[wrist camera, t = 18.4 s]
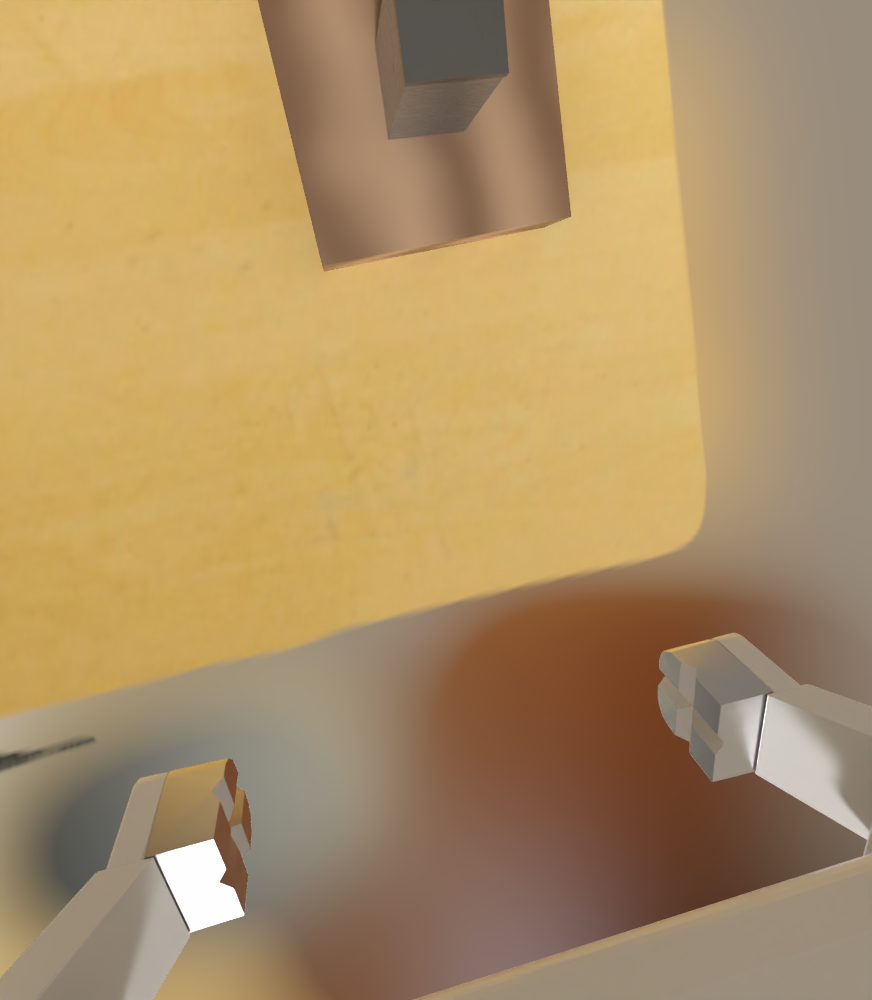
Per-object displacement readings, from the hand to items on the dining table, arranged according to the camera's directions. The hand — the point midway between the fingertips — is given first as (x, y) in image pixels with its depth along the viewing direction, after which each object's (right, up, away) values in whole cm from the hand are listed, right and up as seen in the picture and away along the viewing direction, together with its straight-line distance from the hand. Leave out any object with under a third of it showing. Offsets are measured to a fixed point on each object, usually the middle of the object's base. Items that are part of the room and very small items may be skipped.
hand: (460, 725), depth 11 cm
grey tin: (-1, +25, +18) cm, 31 cm away
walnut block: (-2, +26, +23) cm, 35 cm away
